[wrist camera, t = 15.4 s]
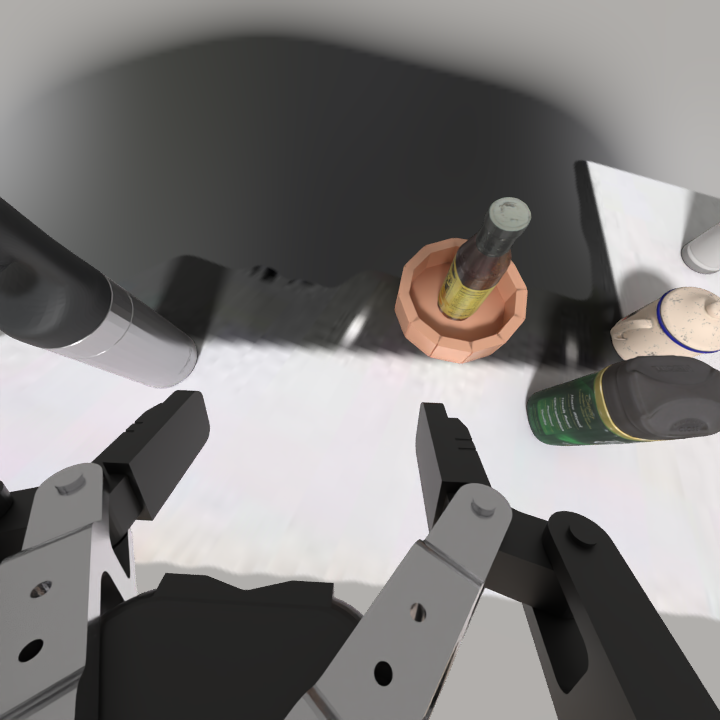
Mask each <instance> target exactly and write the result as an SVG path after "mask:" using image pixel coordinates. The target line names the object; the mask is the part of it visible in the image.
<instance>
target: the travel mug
mask: <svg viewBox="0 0 720 720" xmlns="http://www.w3.org/2000/svg"><path fill="white" fill-rule="evenodd" d="M682 258H683V260H684V262H685V263H686V265H687V266H688V267H689V268H691V269H692V270H694V271H696V272H698V273H702V274H712V273H715V272H717V271H719V270H720V222H719V223H718V224H716V225H715V226H713V227H712V228H710V229H709V230H707V231H706V232H704V233H703V234H701V235H700V236H698V237H697V238H695V239H694V240H692V241H691V242H689V243H688V244H686V245H685V246H684V247H683V249H682Z"/></svg>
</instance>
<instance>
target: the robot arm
mask: <svg viewBox="0 0 720 720" xmlns="http://www.w3.org/2000/svg"><path fill="white" fill-rule="evenodd" d="M0 330H1V331H3V332H4V333H5V334H7V335H8V336H10V337H12V338H14V339H17V340H19V341H21V342H24V343H27V344H30V345H33V346H36V347H40V348H42V349H45V350H48V351H51V352H54V353H57V354H59V355H62V356H65V357H68V358H71V359H74V360H77V361H80V362H83V363H85V364H88V365H91V366H94V367H97V368H99V369H102V370H105V371H108V372H111V373H114V374H116V375H119V376H122V377H125V378H128V379H130V380H133V381H136V382H139V383H142V384H144V385H147V386H150V387H154V388H167V387H171V386H174V385H176V384H178V383H180V382H181V381H183V380H184V379H185V378H186V377H187V376H188V375H189V374H190V373H191V371H192V370H193V368H194V366H195V363H196V360H197V349H196V345H195V343H194V341H193V340H192V339H191V337H189V336H188V335H187V334H185V333H184V332H183V331H181V330H180V329H179V328H177V327H176V326H175V325H173V324H172V323H171V322H169V321H168V320H166V319H165V318H164V317H162V316H161V315H159V314H158V313H157V312H155V311H154V310H153V309H151V308H150V307H148V306H147V305H146V304H144V303H143V302H141V301H140V300H139V299H137V298H136V297H135V296H133V295H132V294H130V293H129V292H128V291H126V290H125V289H123V288H122V287H120V286H119V285H118V284H116V283H115V282H114V281H112V280H111V279H109V278H108V277H106V276H105V275H104V274H102V273H101V272H100V271H98V270H97V269H95V268H94V267H93V266H91V265H89V264H88V263H87V262H85V261H83V260H82V259H81V258H79V257H78V256H76V255H75V254H73V253H72V252H71V251H69V250H68V249H66V248H65V247H64V246H62V245H61V244H59V243H58V242H57V241H55V240H54V239H52V238H51V237H50V236H49V235H47V234H46V233H45V232H43V231H42V230H41V229H40V228H38V227H37V226H36V225H35V224H33V223H32V222H31V221H30V220H28V219H27V218H26V217H25V216H23V215H22V214H21V213H20V212H18V211H17V210H16V209H15V208H13V207H12V206H11V205H10V204H8V203H7V202H6V201H5V200H3V199H2V198H1V197H0ZM209 432H210V425H209V420H208V416H207V412H206V407H205V403H204V399H203V395H202V393H201V392H199V391H186V390H177V391H175V392H174V393H173V394H172V395H170V396H169V397H168V398H167V399H166V400H165V401H164V402H163V403H160V404H158V405H156V406H154V407H153V408H151V409H149V410H147V411H146V412H144V413H143V414H142V415H141V416H140V417H139V418H138V419H137V420H136V421H135V423H134V424H132V425H131V426H130V427H129V428H127V429H126V432H123V433H122V434H121V435H120V436H119V437H118V438H117V439H116V440H115V441H114V442H113V443H112V444H110V445H109V446H108V447H107V448H106V449H105V450H104V451H103V452H102V453H101V454H100V455H99V456H98V457H97V458H96V459H95V460H93V461H92V462H91V463H82V464H77V465H74V466H71V467H68V468H65V469H63V470H61V471H59V472H57V473H55V474H54V475H52V476H51V477H49V478H48V479H47V480H45V481H44V482H43V483H42V484H41V485H40V486H39V487H35V488H30V489H25V490H19V491H14V492H9V491H8V490H7V488H6V487H5V485H4V484H3V482H2V481H0V720H429V719H430V717H431V714H432V712H433V709H434V707H435V705H436V702H437V700H438V698H439V696H440V693H441V691H442V688H443V686H444V684H445V682H446V679H447V677H448V674H449V672H450V670H451V667H452V665H453V662H454V660H455V657H456V655H457V652H458V650H459V648H460V645H461V643H462V640H463V638H464V636H465V633H466V631H467V629H468V627H469V624H470V622H471V620H472V617H473V615H474V613H475V610H476V608H477V606H478V603H479V601H480V599H481V596H482V594H483V592H484V589H485V588H487V589H490V590H492V591H495V592H497V593H500V594H502V595H505V596H507V597H509V598H512V599H514V600H517V601H519V602H522V605H523V608H524V611H525V614H526V617H527V621H528V624H529V627H530V630H531V633H532V637H533V640H534V643H535V646H536V650H537V652H538V656H539V659H540V662H541V665H542V669H543V672H544V675H545V678H546V682H547V685H548V688H549V691H550V694H551V698H552V701H553V704H554V707H555V711H556V714H557V716H558V720H720V711H719V709H718V708H717V706H716V705H715V703H714V701H713V700H712V698H711V697H710V695H709V694H708V692H707V690H706V689H705V687H704V685H703V684H702V683H701V681H700V679H699V678H698V676H697V674H696V673H695V671H694V670H693V668H692V666H691V665H690V663H689V662H688V660H687V659H686V657H685V655H684V654H683V652H682V651H681V649H680V647H679V646H678V644H677V643H676V641H675V639H674V638H673V636H672V635H671V633H670V632H669V630H668V628H667V627H666V625H665V624H664V622H663V620H662V619H661V617H660V616H659V614H658V613H657V611H656V609H655V608H654V606H653V605H652V603H651V601H650V600H649V598H648V597H647V595H646V593H645V592H644V590H643V589H642V587H641V586H640V584H639V582H638V581H637V579H636V578H635V576H634V574H633V573H632V571H631V570H630V568H629V567H628V565H627V563H626V562H625V560H624V559H623V557H622V555H621V554H620V552H619V551H618V549H617V548H616V546H615V544H614V543H613V541H612V540H611V538H610V537H609V536H608V534H607V533H606V532H605V531H604V530H603V529H602V528H601V527H600V526H598V525H597V524H596V523H594V522H593V521H591V520H590V519H588V518H586V517H584V516H582V515H580V514H577V513H573V512H568V511H560V512H556V513H554V514H552V515H551V517H550V518H549V520H548V521H546V520H543V519H540V518H537V517H534V516H531V515H528V514H525V513H522V512H519V511H517V510H515V509H513V508H511V507H510V504H509V503H508V501H507V500H506V499H505V497H504V496H503V495H502V494H500V493H499V492H498V491H496V490H495V489H493V488H492V487H491V485H490V483H489V480H488V478H487V475H486V473H485V470H484V468H483V465H482V463H481V460H480V458H479V455H478V453H477V451H476V448H475V445H474V443H473V441H472V438H471V436H470V433H469V431H468V428H467V427H466V426H465V425H464V424H463V423H462V422H461V421H460V420H459V419H458V418H448V416H447V413H446V410H445V407H444V405H443V404H442V403H425V402H422V403H421V406H420V412H419V419H418V426H417V433H416V455H417V462H418V468H419V474H420V480H421V486H422V492H423V498H424V504H425V510H426V516H427V522H428V528H429V534H428V536H427V537H426V539H425V540H424V541H422V540H420V539H419V540H418V541H417V542H415V544H414V545H413V546H412V547H411V549H410V550H409V552H408V553H407V555H406V556H405V557H404V559H403V560H402V562H401V563H400V565H399V566H398V567H397V569H396V570H395V572H394V573H393V575H392V576H391V577H390V579H389V580H388V582H387V583H386V585H385V586H384V587H383V589H382V590H381V592H380V593H379V595H378V596H377V598H376V599H375V600H374V602H373V603H372V605H371V606H370V608H369V609H368V610H367V612H366V613H365V615H364V616H363V615H362V614H361V613H360V612H359V611H357V610H356V609H355V608H354V607H352V606H351V605H349V604H347V603H346V602H344V601H342V600H339V599H337V598H335V597H334V583H324V582H305V581H288V582H284V583H279V584H274V585H270V586H265V587H260V588H256V589H252V590H242V589H239V588H237V587H234V586H232V585H229V584H226V583H224V582H222V581H219V580H217V579H214V578H211V577H209V576H206V575H190V574H173V573H165V575H164V577H163V579H162V580H161V582H160V584H159V586H158V588H157V589H153V590H150V591H147V592H144V593H142V594H139V595H138V593H137V587H136V576H135V562H134V548H133V534H132V531H131V529H130V527H131V525H132V524H133V523H134V521H135V520H150V521H153V519H154V518H155V516H156V515H157V513H158V512H159V510H160V509H161V507H162V506H163V505H164V503H165V502H166V500H167V499H168V497H169V496H170V494H171V493H172V491H173V490H174V488H175V487H176V485H177V484H178V483H179V481H180V480H181V478H182V477H183V475H184V474H185V472H186V471H187V469H188V468H189V466H190V465H191V464H192V462H193V461H194V459H195V458H196V456H197V455H198V453H199V452H200V450H201V449H202V447H203V446H204V445H205V443H206V441H207V439H208V437H209Z"/></svg>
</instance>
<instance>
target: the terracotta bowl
mask: <svg viewBox="0 0 720 720" xmlns="http://www.w3.org/2000/svg"><path fill="white" fill-rule="evenodd" d="M466 241H467V240H466V239H460V238H455V239H454V238H451V239H447V240H443V241H440V242H436V243H432V244H428V245H426V246H424V247H423V248H422V249H421V250H420V251H419V252H418V253H417V254H416V255H415V256H414V257H413V258H412V259H410V260H409V262H408V263H406V264H405V266H404V269H403V273H402V278H401V283H400V287H399V292H398V296H397V301H396V306H395V312H396V315H397V317H398V320H399V323H400V325H401V328H402V331H403V333H404V336H406V338H407V339H408V340H409V341H410V342H412V343H413V344H414V345H415V346H416V347H418V348H419V349H420V350H421V351H423V352H424V353H425V354H426V355H427V356H430V357H431V358H436V359H441V360H445V361H450V362H455V363H460V364H461V363H466V362H469V361H472V360H475V359H479V358H482V357H485V356H488V355H491V354H492V353H493V352H495V351H496V350H497V349H498V348H499V347H501V346H502V345H503V344H504V343H506V341H507V340H508V339H509V338H510V337H511V335H512V334H513V333H514V332H515V331H516V330H517V328H518V327H519V326H520V325H521V324H522V322H523V321H524V319H525V315H526V302H527V290H526V289H527V287H526V286H525V284H524V282H523V280H522V278H521V276H520V274H519V272H518V271H517V269H516V267H515V265H514V263H511V262H512V261H511V262H510V265H509V267H508V269H507V271H506V272H505V274H503V276H502V278H501V279H500V280H499V283H498V284H497V285H496V286H495V288H494V289H493V290H492V292H491V293H490V294H489V295H488V297H487V298H486V299H485V301H484V302H483V303H482V304H481V306H480V307H479V308H478V310H477V311H476V312H475V313H474V314H473V315H471V316H470V317H469V318H467V319H465V320H463V321H454V320H450V319H448V318H446V317H445V316H444V315H443V314H442V313H441V312H440V310H439V308H438V305H437V303H438V294H439V291H440V289H441V287H442V285H443V282H444V280H445V278H446V275H447V273H448V271H449V269H450V266H451V264H452V262H453V260H454V257H455V255H456V253H457V251H458V249H459V247H460V246H461V245H462V244H464V243H465V242H466Z"/></svg>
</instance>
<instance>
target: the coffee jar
mask: <svg viewBox="0 0 720 720" xmlns="http://www.w3.org/2000/svg"><path fill="white" fill-rule="evenodd" d="M527 413H528V420H529V424H530V427H531V430H532V432H533V434H534V435H535V436H536V438H537V439H538V440H540V441H541V442H543V443H545V444H549V445H557V446H579V445H599V444H623V443H638V442H651V441H663V440H675V439H685V438H692V437H701V436H708V435H712V434H715V433H717V432H719V431H720V371H718V370H716V369H714V368H712V367H711V366H709V365H708V364H706V363H704V362H702V361H700V360H697V359H694V358H691V357H686V356H675V355H661V356H637V357H635V358H631V359H628V360H625V361H621V362H618V363H615V364H612V365H610V366H608V367H606V368H604V369H602V370H600V371H598V372H595V373H592V374H589V375H587V376H584V377H581V378H578V379H575V380H572V381H569V382H566V383H563V384H560V385H557V386H554V387H551V388H548V389H545V390H542V391H539V392H536V393H534V394H533V395H532V396H531V397H530V398H529V400H528V404H527Z"/></svg>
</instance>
